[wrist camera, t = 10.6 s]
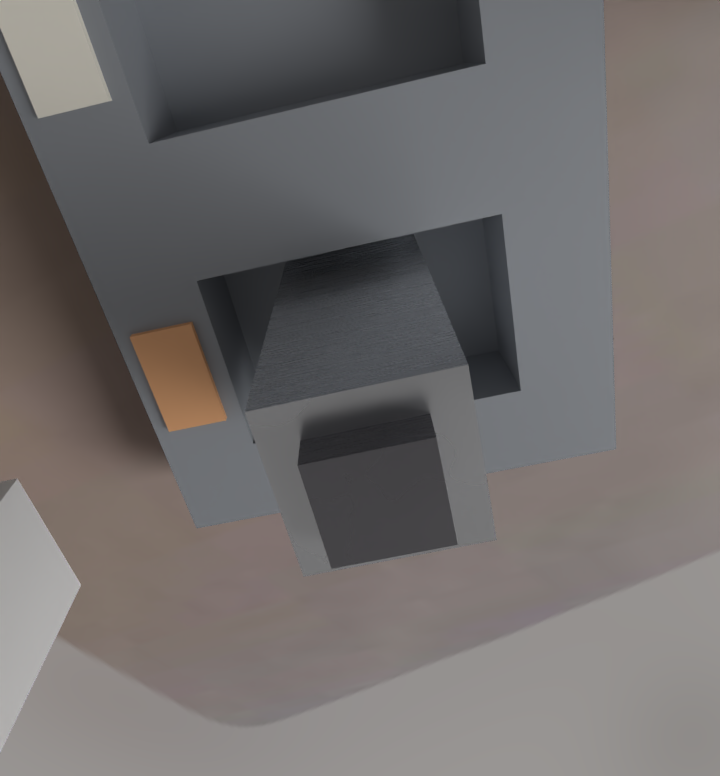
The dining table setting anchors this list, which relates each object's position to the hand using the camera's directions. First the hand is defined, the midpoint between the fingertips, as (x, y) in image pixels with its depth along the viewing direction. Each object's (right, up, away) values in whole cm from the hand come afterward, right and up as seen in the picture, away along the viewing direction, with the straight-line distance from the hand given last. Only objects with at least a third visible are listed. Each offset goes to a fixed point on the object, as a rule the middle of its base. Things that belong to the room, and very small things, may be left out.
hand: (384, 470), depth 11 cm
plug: (0, +4, +9) cm, 10 cm away
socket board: (-1, +9, +8) cm, 12 cm away
